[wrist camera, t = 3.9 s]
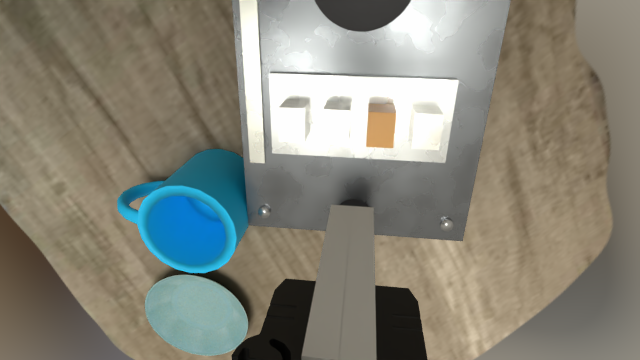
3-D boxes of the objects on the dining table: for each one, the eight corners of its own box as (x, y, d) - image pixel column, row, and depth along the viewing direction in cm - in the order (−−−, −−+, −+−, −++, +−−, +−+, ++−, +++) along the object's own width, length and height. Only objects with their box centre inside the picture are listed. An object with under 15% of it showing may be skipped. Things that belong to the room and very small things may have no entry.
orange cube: (368, 103, 27) (368, 111, 25) (394, 104, 27) (396, 113, 25) (366, 136, 28) (366, 146, 26) (391, 137, 28) (393, 148, 26)
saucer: (265, 284, 43) (259, 299, 41) (239, 353, 48) (233, 369, 46) (163, 247, 42) (153, 260, 40) (148, 321, 47) (138, 335, 45)
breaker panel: (250, -33, 30) (212, -46, 22) (494, -32, 28) (537, -44, 21) (262, 198, 38) (237, 244, 31) (450, 211, 36) (471, 263, 29)
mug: (263, 153, 36) (235, 191, 29) (262, 227, 39) (237, 279, 32) (140, 139, 37) (82, 173, 29) (150, 213, 40) (100, 260, 33)
